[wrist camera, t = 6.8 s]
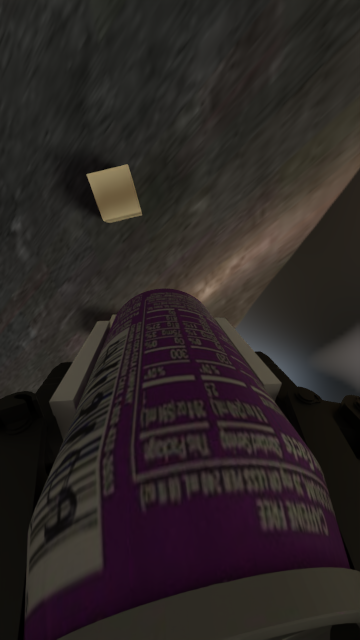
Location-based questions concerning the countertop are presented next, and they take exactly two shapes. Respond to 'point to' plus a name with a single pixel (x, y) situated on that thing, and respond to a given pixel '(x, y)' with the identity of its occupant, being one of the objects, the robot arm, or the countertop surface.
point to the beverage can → (183, 499)
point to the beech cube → (115, 193)
